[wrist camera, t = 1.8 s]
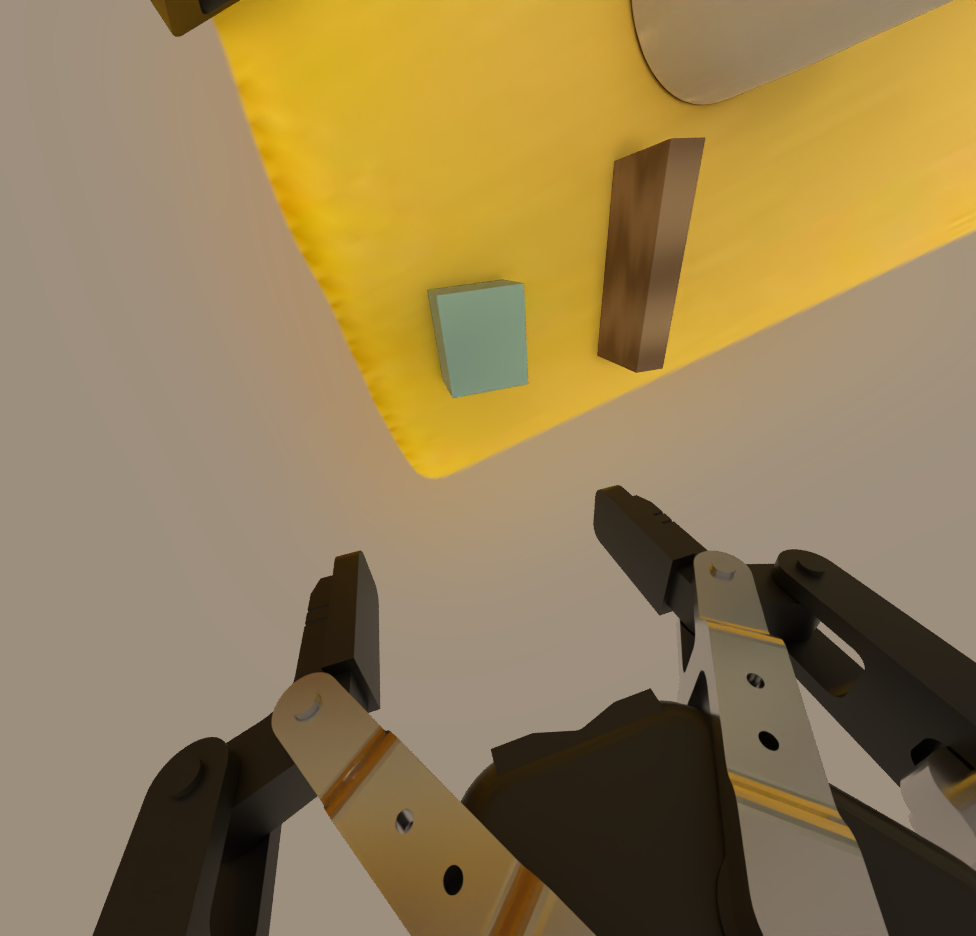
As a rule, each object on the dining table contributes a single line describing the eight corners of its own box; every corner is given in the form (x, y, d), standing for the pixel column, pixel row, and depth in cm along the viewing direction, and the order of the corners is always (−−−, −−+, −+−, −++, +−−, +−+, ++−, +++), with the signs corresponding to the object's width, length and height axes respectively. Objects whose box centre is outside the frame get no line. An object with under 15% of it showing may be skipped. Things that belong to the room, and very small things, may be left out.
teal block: (427, 289, 27) (436, 295, 23) (502, 279, 28) (523, 283, 24) (442, 379, 31) (452, 398, 27) (508, 367, 32) (528, 383, 28)
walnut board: (614, 161, 26) (671, 138, 21) (643, 160, 27) (705, 137, 22) (597, 355, 33) (636, 372, 28) (620, 352, 34) (662, 368, 29)
